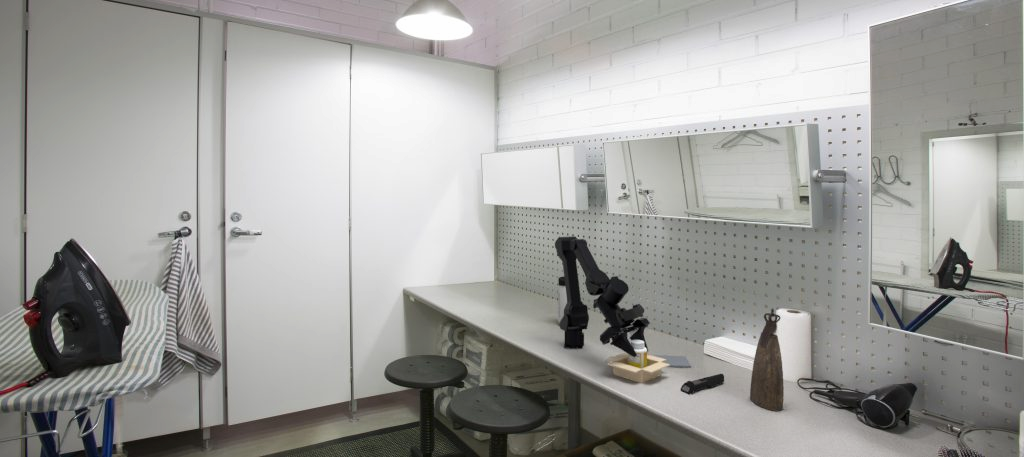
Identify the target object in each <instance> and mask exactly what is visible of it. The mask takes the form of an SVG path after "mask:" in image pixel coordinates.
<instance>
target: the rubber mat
mask: <svg viewBox="0 0 1024 457" xmlns="http://www.w3.org/2000/svg"><path fill="white" fill-rule="evenodd" d="M653 356H655V357H659V358H663V359H666V361H665V362H663V363H667V364H670V366H668V367H667V368H678V369H679V368H680V369H681V368H684V369H691V368H692V366H691V363H690V362H689V360H688V359H687V356H685V355H661V354H660V355H659V354H654V355H653Z"/></svg>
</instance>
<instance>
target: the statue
mask: <svg viewBox="0 0 1024 457" xmlns="http://www.w3.org/2000/svg"><path fill="white" fill-rule="evenodd" d="M774 312H775V310H774V308H771V309H770V312H767V313H764V315H763V318H764V321H765V325H764V326H763V329H762V331H761V333H760V335H759V338H758V341H757V346H756V350H755V354H754V359H753V365H752V372H751V377H750V378H751V380H750V387H749V388H750V389H749V390H750V391H749V398H750V400H751V401H752V402H753V403H754V405H756V406H759V407H760V408H763V409H766V410H771V411H774V412H775V411H777V412H780V411H781V410H783V407H784V393H785V392H784V391H785V390H784V389H785V388H784V371H783V359H782V352H781V345H780V342H779V337H778V335H777V334H775V333H776V332H777V331H778V330H777V329H778V324H777V323H779V321H780V320H781V315H778V314H776V313H774ZM767 316H768V318H767ZM772 317H774V320H773V319H772Z"/></svg>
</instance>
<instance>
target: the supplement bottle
mask: <svg viewBox="0 0 1024 457" xmlns="http://www.w3.org/2000/svg"><path fill="white" fill-rule="evenodd" d="M630 344H631V345H632V347H633V349H634V350H635V352H636V354H637V356H636V357H633V356H631V355H630V354H628V365H630V366H634V367H637V368H641V369H642V368H645V367H647V355H648V352H647V348H648V347H647V348H645V347H644V346H645V345H644V341H642V340H631V341H630Z"/></svg>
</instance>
